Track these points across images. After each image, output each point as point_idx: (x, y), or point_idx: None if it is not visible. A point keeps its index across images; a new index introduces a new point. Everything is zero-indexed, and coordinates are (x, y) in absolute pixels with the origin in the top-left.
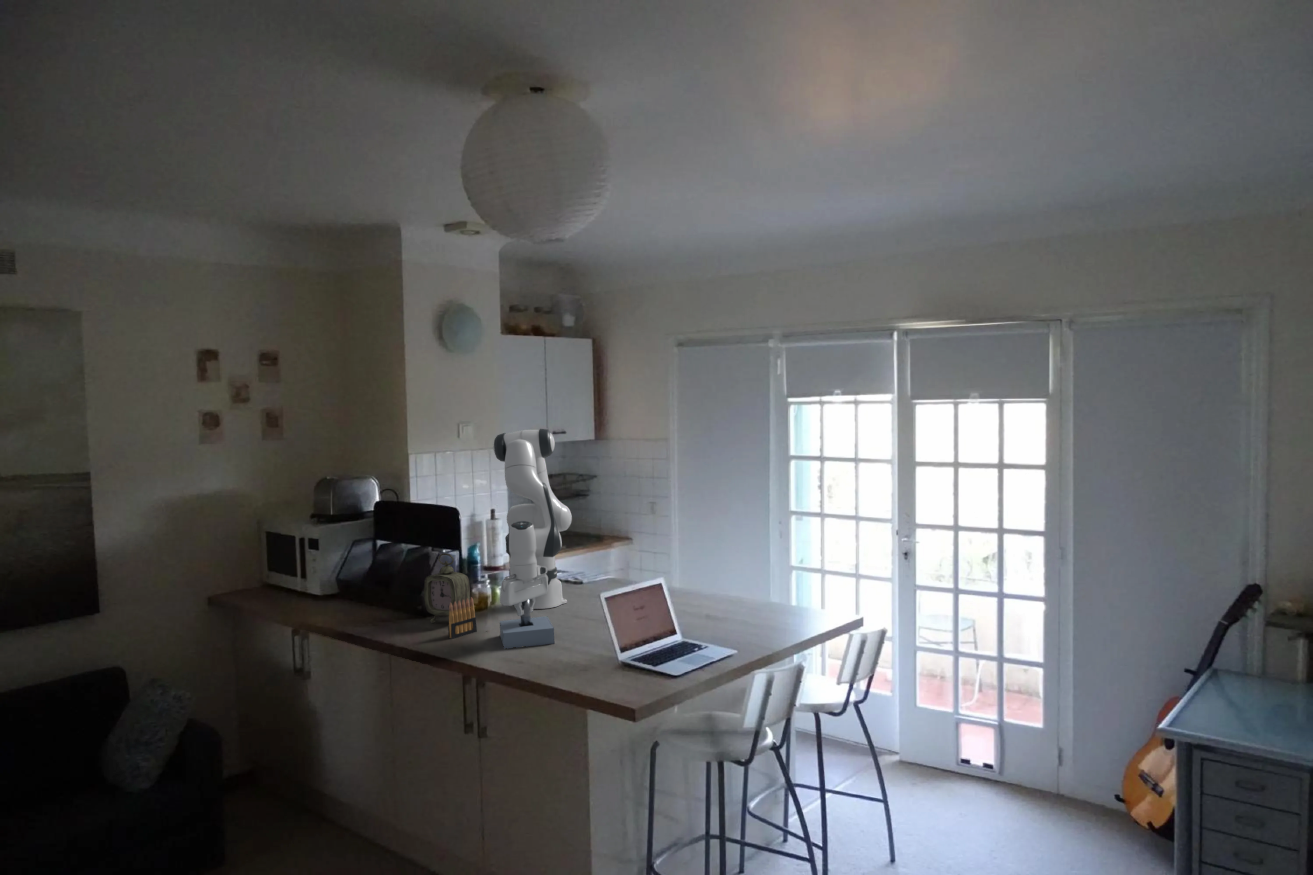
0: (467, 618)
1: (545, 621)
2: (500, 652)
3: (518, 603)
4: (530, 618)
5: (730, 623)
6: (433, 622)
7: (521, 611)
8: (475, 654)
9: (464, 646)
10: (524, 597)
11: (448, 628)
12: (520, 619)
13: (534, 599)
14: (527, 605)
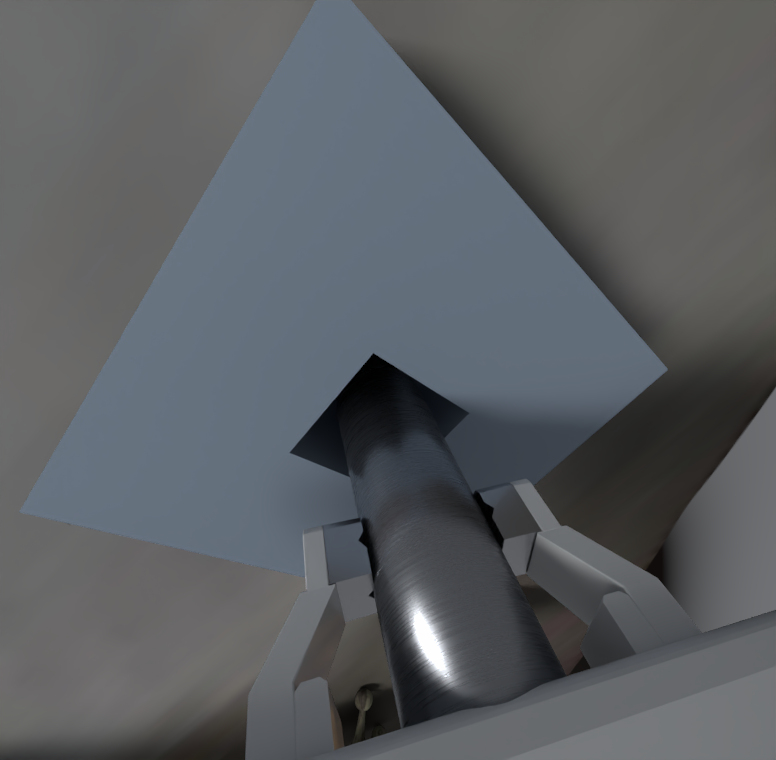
0: None
1: (173, 374)
2: (660, 272)
3: (687, 624)
4: (372, 443)
5: None
6: (378, 725)
7: (548, 514)
8: (702, 358)
9: (587, 488)
10: (689, 750)
11: None
12: (292, 560)
13: (274, 723)
14: (487, 583)
